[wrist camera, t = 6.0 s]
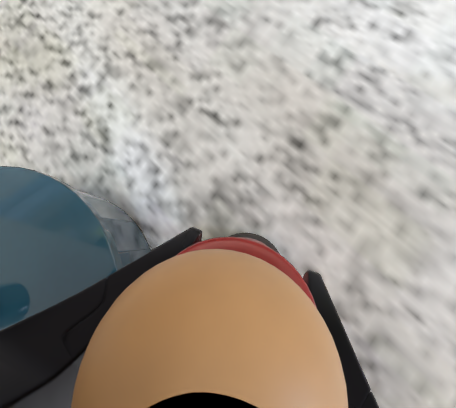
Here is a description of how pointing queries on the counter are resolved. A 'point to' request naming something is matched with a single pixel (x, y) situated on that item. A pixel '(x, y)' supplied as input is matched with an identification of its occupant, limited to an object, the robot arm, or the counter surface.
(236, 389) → the toy
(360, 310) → the counter surface
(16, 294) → the pot lid
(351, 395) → the robot arm
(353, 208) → the counter surface
